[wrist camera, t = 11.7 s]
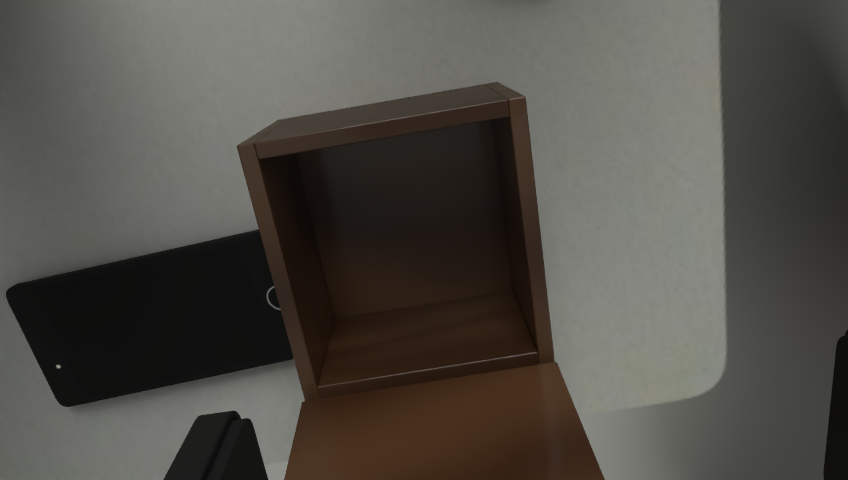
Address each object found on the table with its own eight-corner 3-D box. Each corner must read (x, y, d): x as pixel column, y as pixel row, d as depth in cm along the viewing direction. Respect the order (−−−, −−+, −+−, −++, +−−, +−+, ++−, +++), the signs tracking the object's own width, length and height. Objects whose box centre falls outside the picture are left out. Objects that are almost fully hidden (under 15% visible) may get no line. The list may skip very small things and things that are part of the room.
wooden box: (277, 120, 35) (236, 145, 27) (498, 81, 35) (525, 95, 27) (327, 325, 40) (305, 402, 31) (524, 293, 39) (554, 363, 31)
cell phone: (323, 346, 40) (321, 353, 39) (67, 401, 41) (60, 409, 40) (284, 222, 37) (281, 227, 36) (10, 284, 38) (0, 290, 37)
